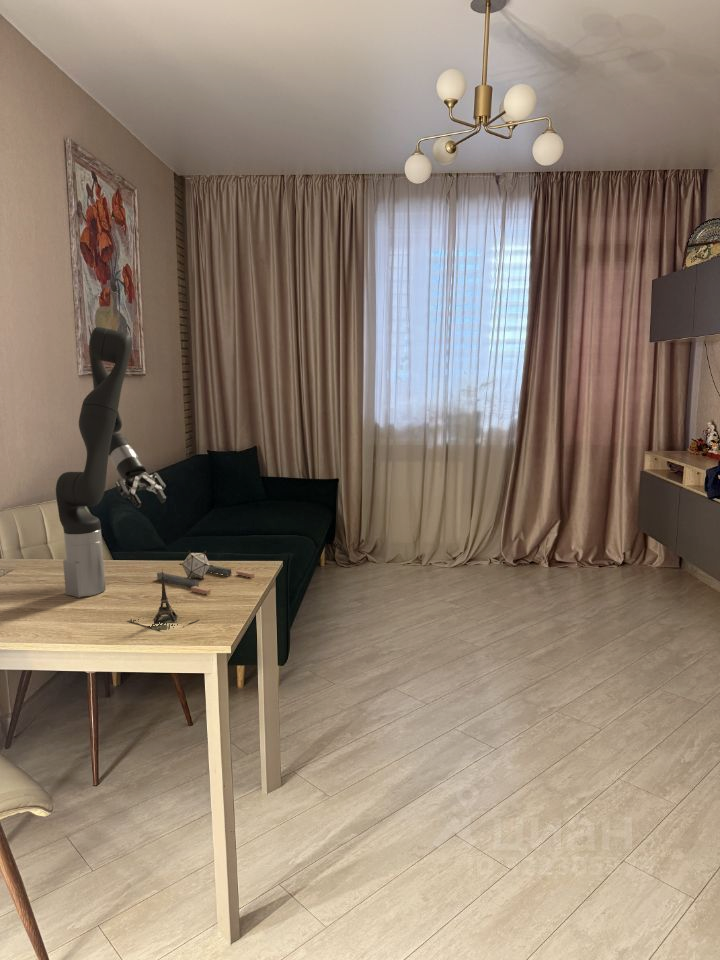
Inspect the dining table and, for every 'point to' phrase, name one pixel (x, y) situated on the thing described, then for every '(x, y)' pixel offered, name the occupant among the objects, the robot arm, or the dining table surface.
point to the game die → (196, 565)
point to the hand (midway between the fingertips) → (152, 503)
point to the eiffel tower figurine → (163, 612)
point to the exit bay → (207, 591)
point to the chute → (191, 582)
